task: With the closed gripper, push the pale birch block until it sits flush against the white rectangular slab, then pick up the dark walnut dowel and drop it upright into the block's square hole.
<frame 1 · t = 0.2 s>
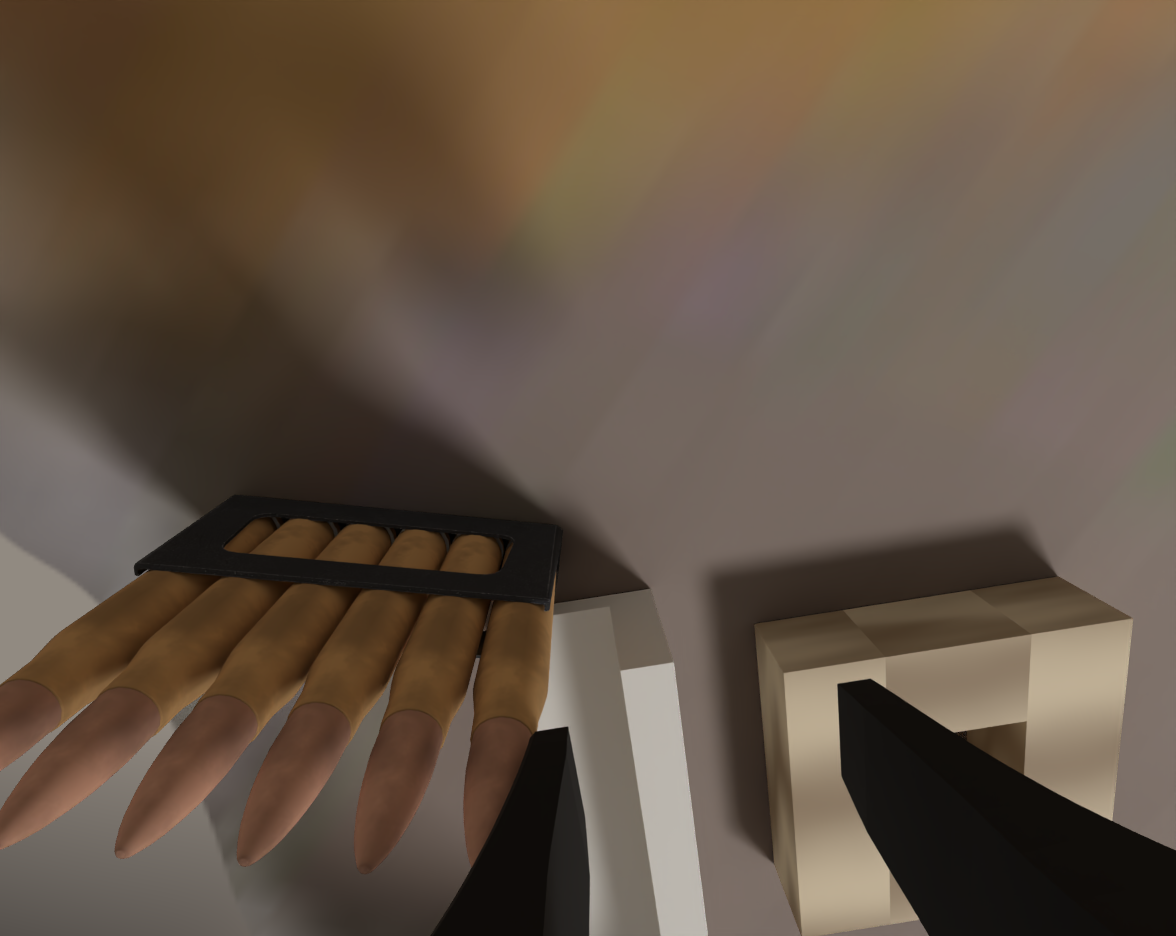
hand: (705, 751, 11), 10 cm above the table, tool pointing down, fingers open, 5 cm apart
block: (907, 729, 24), on the table
white rectangular slab: (658, 801, 24), on the table
ammunition clip: (400, 534, 21), on the table, touching gripper
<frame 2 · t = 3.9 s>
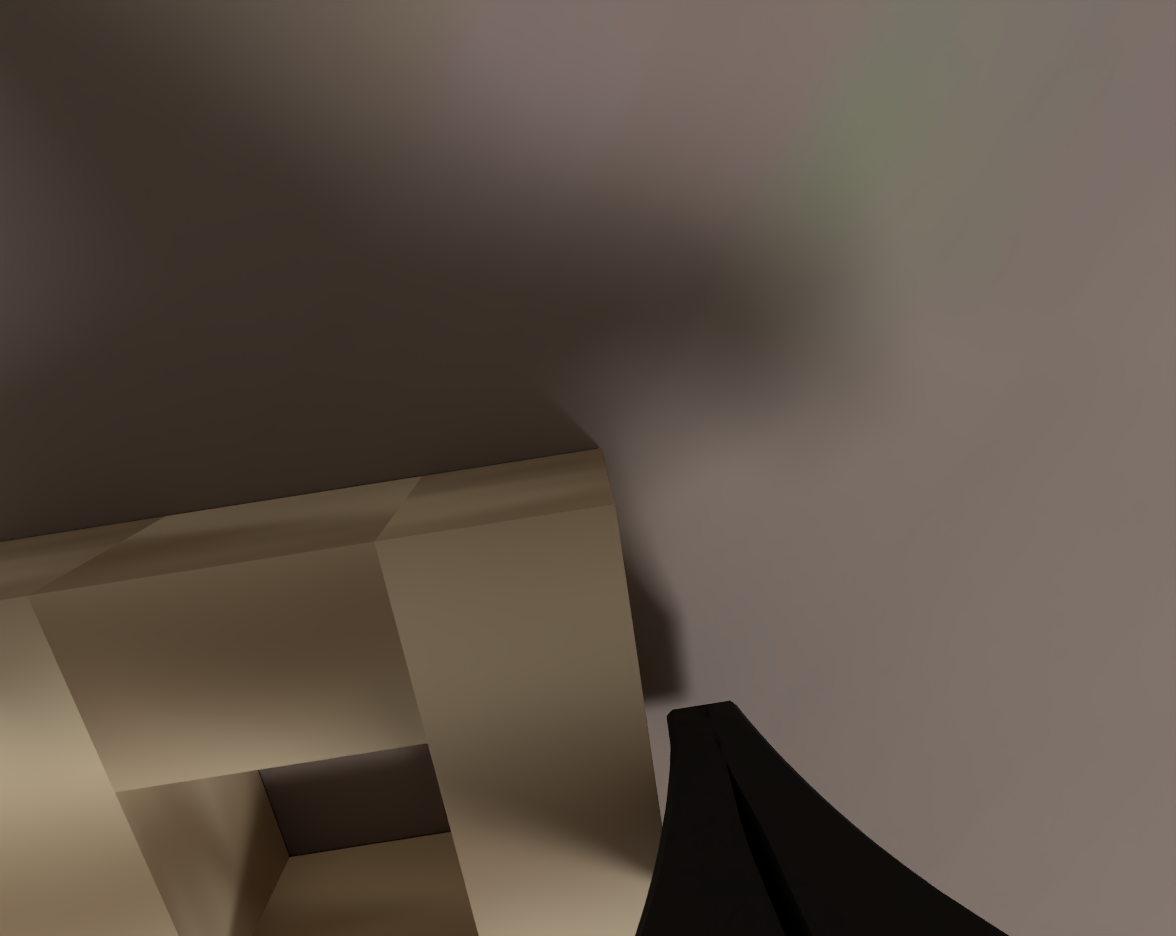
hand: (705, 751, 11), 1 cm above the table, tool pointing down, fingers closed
block: (370, 751, 13), on the table, touching gripper
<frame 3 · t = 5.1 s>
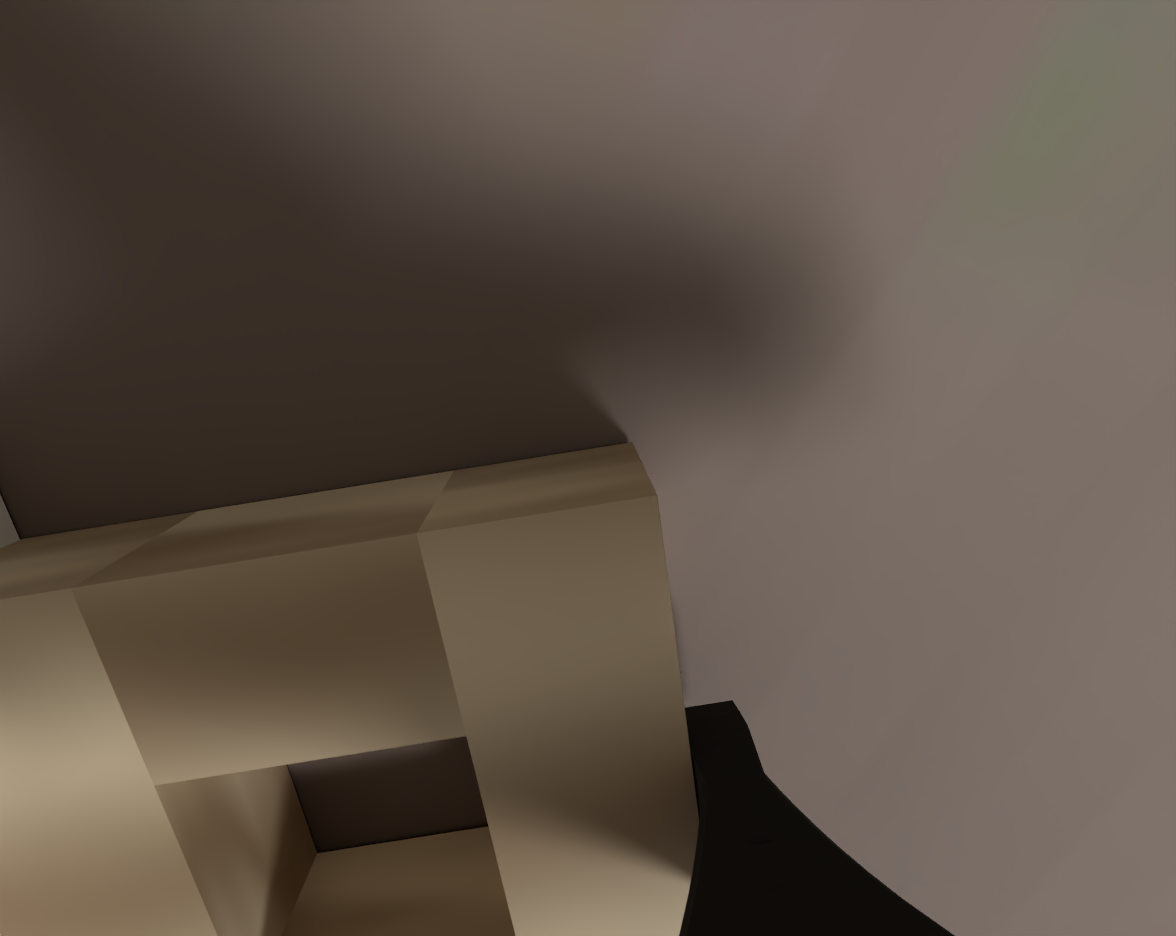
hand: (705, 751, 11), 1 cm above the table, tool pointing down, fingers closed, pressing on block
block: (398, 746, 13), on the table, touching white rectangular slab, gripper
white rectangular slab: (120, 856, 13), on the table
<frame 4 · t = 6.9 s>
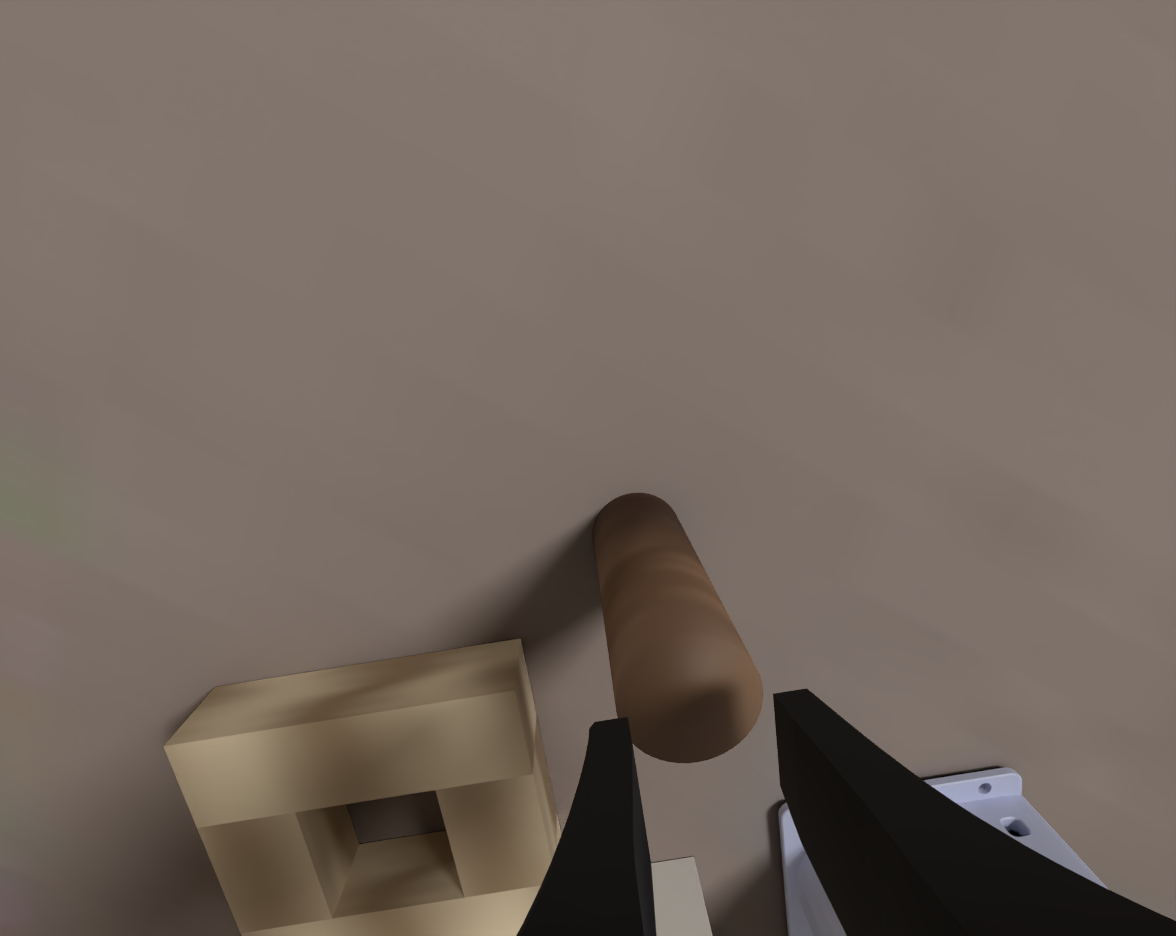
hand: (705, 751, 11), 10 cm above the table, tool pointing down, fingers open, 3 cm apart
block: (403, 787, 24), on the table
white rectangular slab: (477, 905, 25), on the table
dowel: (636, 534, 21), on the table
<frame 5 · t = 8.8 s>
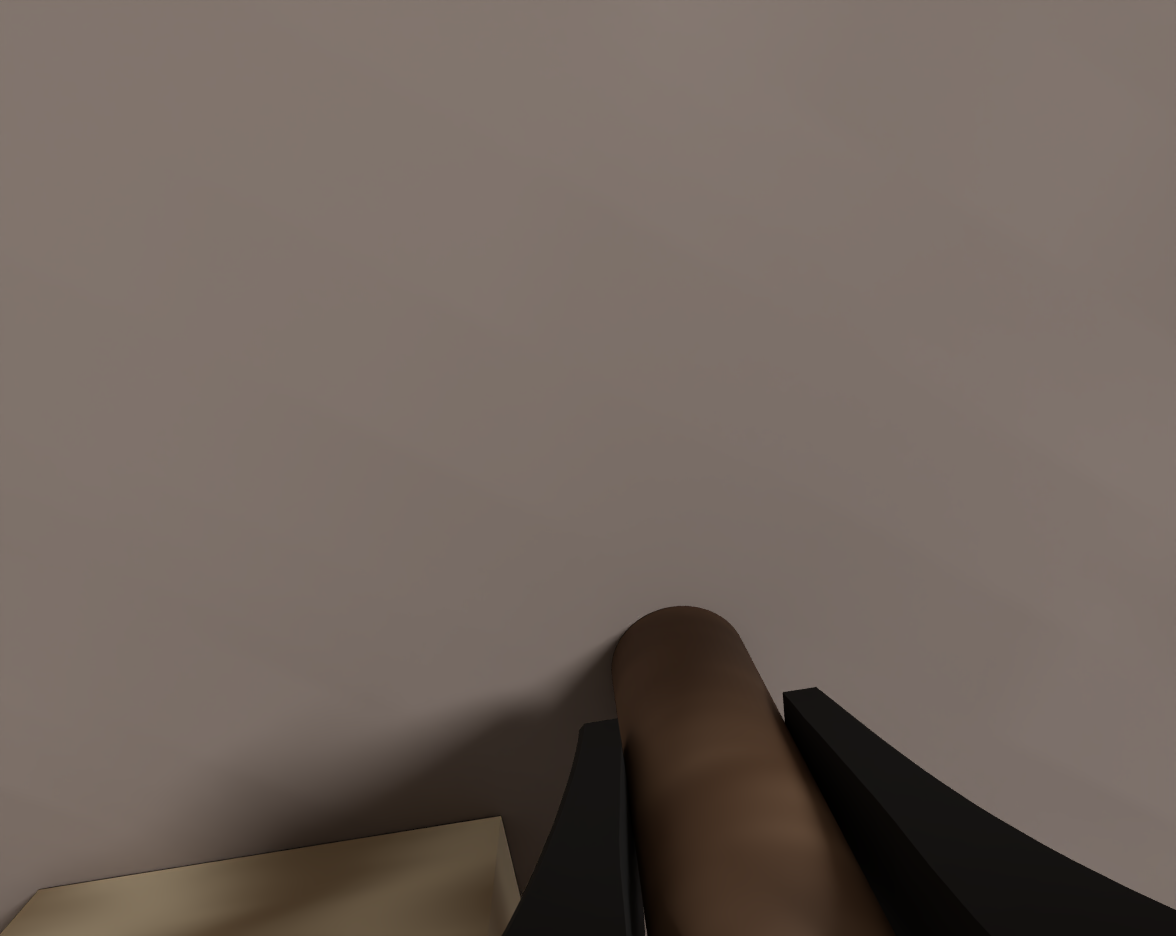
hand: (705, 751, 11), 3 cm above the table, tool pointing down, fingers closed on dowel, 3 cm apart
dowel: (679, 667, 14), on the table, touching gripper
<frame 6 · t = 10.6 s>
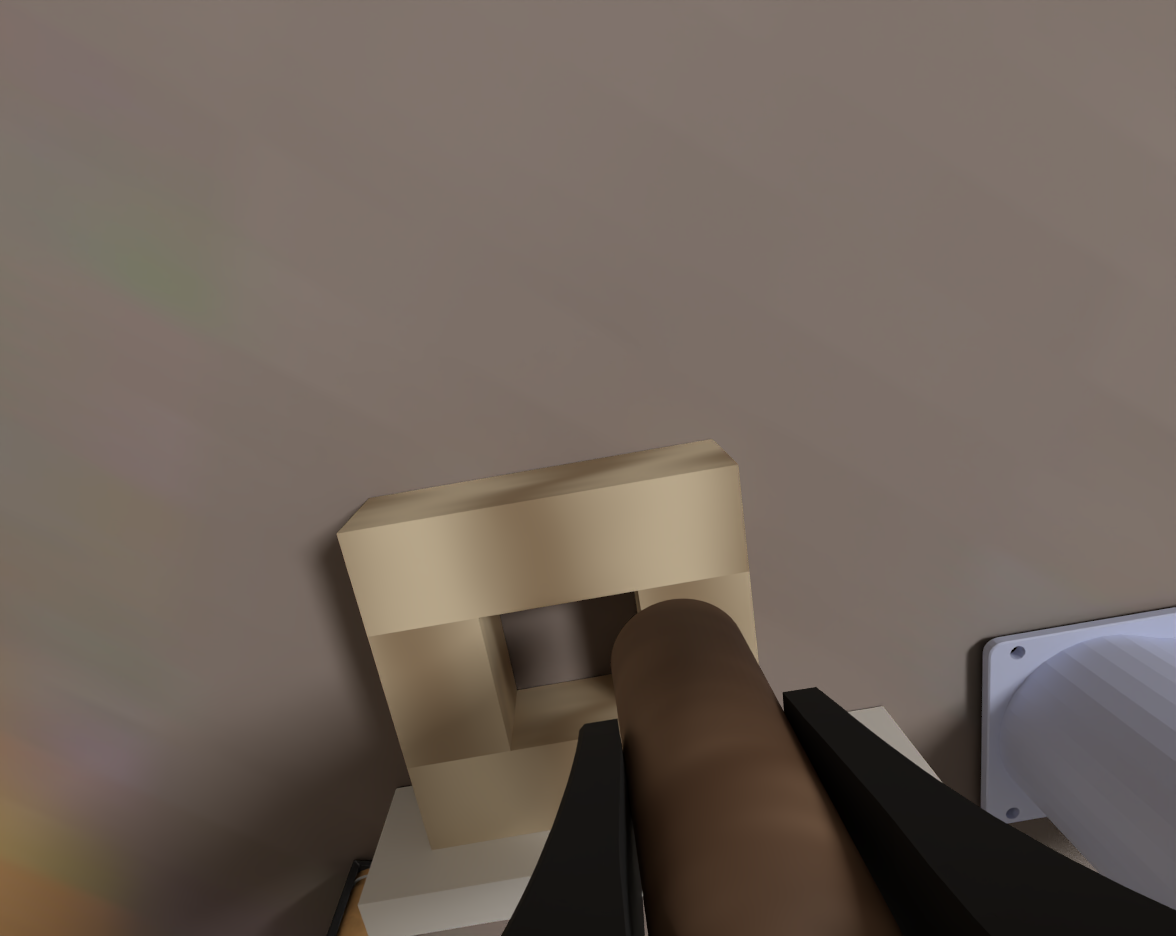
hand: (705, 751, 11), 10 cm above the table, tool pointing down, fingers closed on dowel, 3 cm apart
block: (570, 621, 21), on the table
white rectangular slab: (641, 764, 23), on the table
dowel: (678, 659, 14), point 7 cm above the table, touching gripper
when the fingers open (4 cm above the table, at t = 12.3 s): dowel drops 1 cm, resting in block.
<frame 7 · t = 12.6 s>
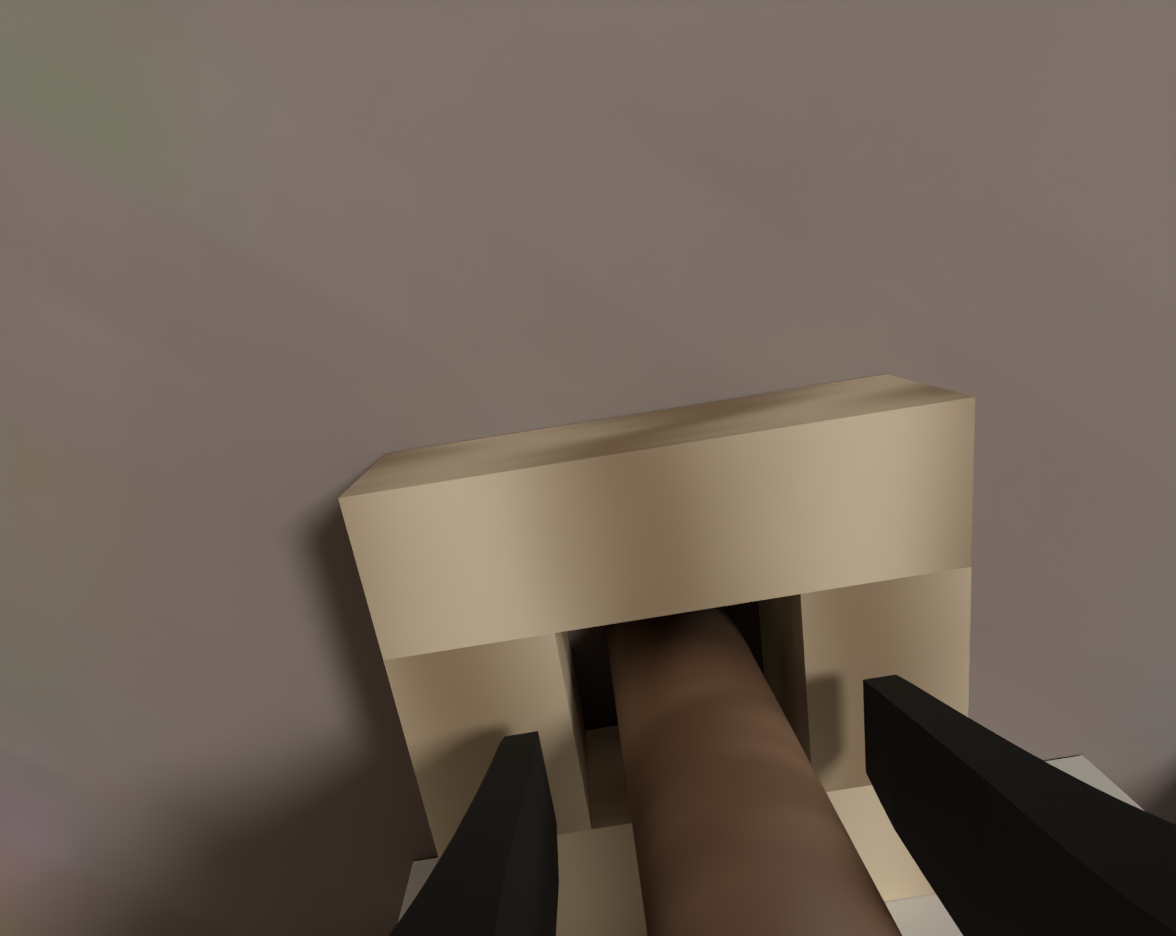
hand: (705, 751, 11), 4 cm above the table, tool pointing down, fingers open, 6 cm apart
block: (665, 636, 15), on the table
white rectangular slab: (750, 830, 17), on the table
dowel: (667, 629, 15), resting in block
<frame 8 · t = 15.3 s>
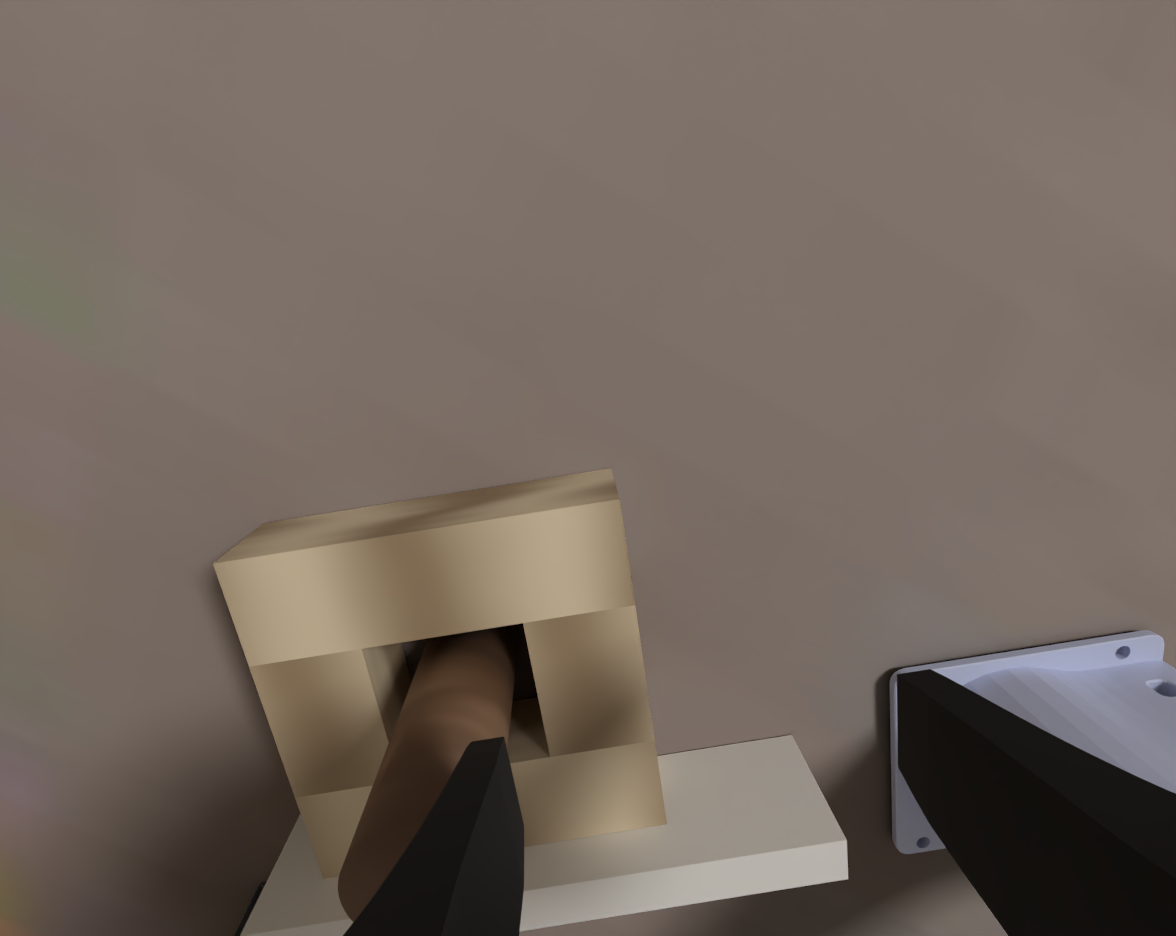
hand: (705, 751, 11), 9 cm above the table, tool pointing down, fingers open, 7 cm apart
block: (472, 648, 21), on the table
white rectangular slab: (549, 790, 23), on the table
dowel: (474, 643, 21), resting in block
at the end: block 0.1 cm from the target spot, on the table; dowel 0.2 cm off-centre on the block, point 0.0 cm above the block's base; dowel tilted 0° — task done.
